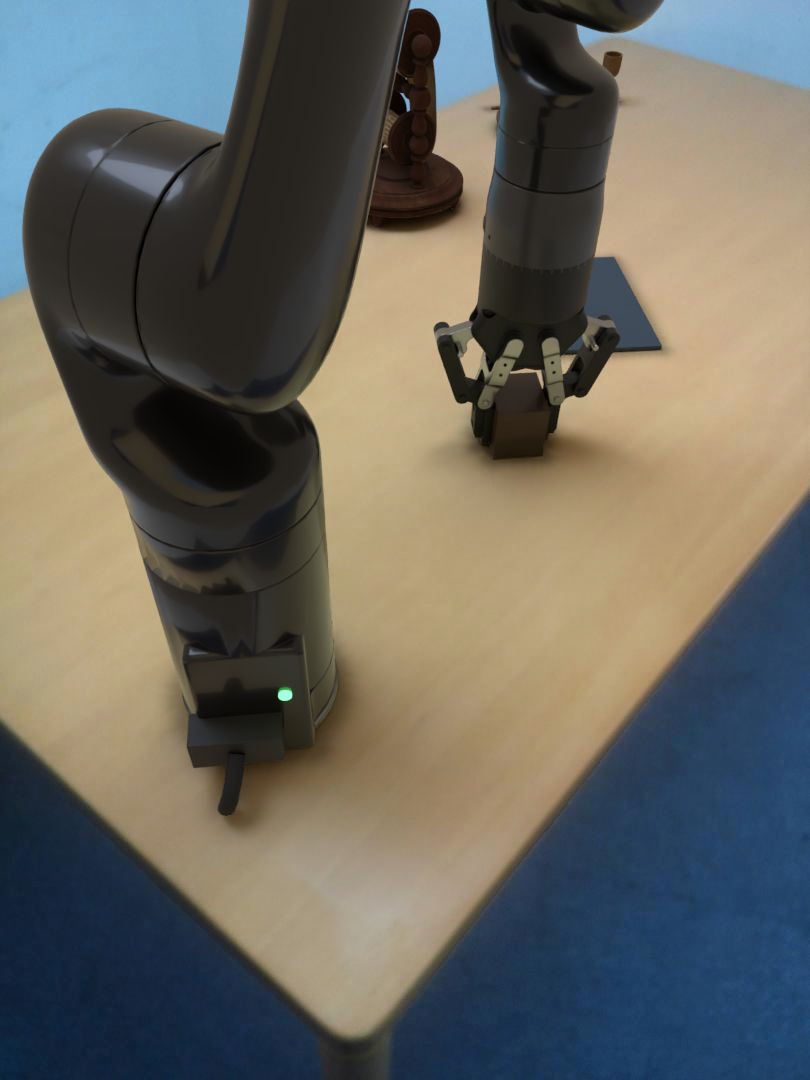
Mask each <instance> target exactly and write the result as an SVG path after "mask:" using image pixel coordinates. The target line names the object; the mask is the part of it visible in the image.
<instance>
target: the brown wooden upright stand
mask: <svg viewBox="0 0 810 1080" xmlns="http://www.w3.org/2000/svg"><path fill="white" fill-rule="evenodd" d="M441 33H442V32H441V27H440V24H439V21H438V19H437V18H436V16H435V15H434V14H433V13H432V12H431V11H429V10H427V8H426V9H425V8H421V7H415V8H410V9H409V13H408V17H407V22H406V26H405V31H404V36H403V41H402V46H401V51H400V56H399V61H398V66H397V70H396V76H395V81H394V86H393V91H392V96H391V101H390V106H389V111H388V116H387V122H386V127H385V132H384V137H383V142H382V147H381V152H380V158H379V163H378V168H377V173H376V178H375V183H374V188H373V194H372V199H371V204H370V209H369V214H368V216H371V218H372V222H373V225H374V226H375V227H378V228H379V227H381V224H382V222H383V218H388V219H409V218H410V219H411V218H420V217H426V216H429V215H434V214H437V213H440V212H442V211H445V210H447V209H449V208H450V209H452V210H456V209H457V207H458V205H459V203H460V198H461V197H462V195H463V192H464V176H463V173H462V171H461V170H460V169H459V168H458V167H457V166H456V165H455V164H453V163H452V162H451V161H449V160H447V159H446V158H445V157H442V156H440V155H439V154H436V153H435V152H434V149H435V146H436V143H437V133H438V132H437V131H438V120H437V118H438V117H437V116H438V115H437V113H438V112H437V85H436V72H435V63H434V62H435V61H434V60H435V58H436V56H437V54H438V52H439V49H440V46H441V40H442V34H441ZM405 99H407V100H408V102H409V110H408V107H407V102H406V100H405ZM384 146H385V147H384Z"/></svg>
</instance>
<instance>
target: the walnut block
mask: <svg viewBox="0 0 810 1080" xmlns="http://www.w3.org/2000/svg"><path fill="white" fill-rule="evenodd" d="M493 407H494V415H493V424H492V432H491V441H490V443H488V447H489V449H490V454H491V457H492V459H493V460H501V459H517V458H518V459H519V458H532V457H533V458H535V457H543V455H544V450H545V445H546V440H545V439H546V433H547V428H548V422H549V417H550V409H549V406H548V403H547V401H546V398H545V395H544V392H543V386H542V383H541V382H540V378H539V375H538V373H537V372H535V371H532V372H531V371H530V372H515V373H514V372H512V373H511V372H510V374H509V376H508V379H507V381H506V383H505V385H504V387H503V388H502V387H501V388H500V390H499V392H498V394H497V396H496V399H495V401H494V403H493Z"/></svg>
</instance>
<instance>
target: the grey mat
mask: <svg viewBox="0 0 810 1080" xmlns="http://www.w3.org/2000/svg"><path fill="white" fill-rule="evenodd" d="M615 257H616V256H599V257H597V256H595V257H594V262H593V268H592V273H591V278H590V283H589V288H588V294H587V299H586V303H585V306H584V311H585V314H586V316H589V317H593V318H596V319H597V318H598V317H600V316H601V315H609V316H610V317H611V319H612V321H613V323H614V325H615V327H616V329H617V331H618V334H619V336H620V341H619V343H618V345H617V346H616V348H615V350H614V351H613V352H630V351H650V350H651V351H652V350H661V349H662V347H663V346H662V343H661V341H660V340H659V337H658V336H657V334H656V332H655V330H654V328H653V327H652V325H651V323H650V321H649V319H648V317H647V315H646V313H645V312H644V309H643V307H642V305H641V303H640V302H639V300H638V298H637V297H636V295H635V293H634V291H633V289H632V287H631V286H630V283H629V282H628V280H627V278H626V276H625V274H624V272H623V271H622V268H621V267H620V265H619V262H617V259H616V258H615ZM582 336H583V334H582V335H581V336H580V337H579V339H578V340H577V341H576V342H575V343H574V344H573V345H572V346H571V347H570V348H569V349H568V350H567V351H566V352H565V353H564V354H563V355H571V354H573V355H574V354H577V353H578V351H579V349H580V347H581V346H582V344H583V342H584V341H583V339H582Z"/></svg>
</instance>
